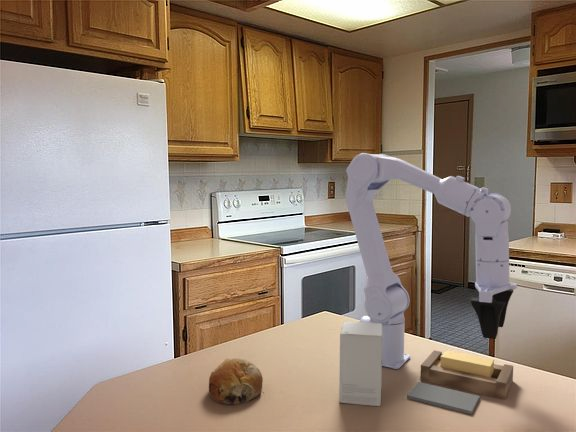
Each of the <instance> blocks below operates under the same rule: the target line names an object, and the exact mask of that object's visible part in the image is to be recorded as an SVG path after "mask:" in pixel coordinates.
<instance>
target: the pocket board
mask: <svg viewBox="0 0 576 432" xmlns="http://www.w3.org/2000/svg"><path fill="white" fill-rule="evenodd" d="M442 354H443V352H442V351H440V350H432V352H431V353H430V354H428V356H427V358H426V359H425V360H424V361H423V362H422V363H421V364H420V376H419V378H420V381H423V382H428V383H432V384H435V385H441V386H445V387H449V388H453V389H459V390H462V391H466V392H471V393H475V394H478V395H484V396H488V397H493V398H497V399H500V400H501V399H502V400H506V399H507V396H508V393H509V391H510V389H511V386H512V385H513V384H512V383H513V380H514V379H513V378H514V365H511V364H506V363H504V364H503V365H500V364H495V363H494V372H493V374H492V376H491V377H486V376H481V375H477V374H472V373H467V372H462V371H458V370H453V369H448V368H443V367H440V365H441V356H442Z"/></svg>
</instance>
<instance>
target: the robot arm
mask: <svg viewBox="0 0 576 432" xmlns="http://www.w3.org/2000/svg"><path fill="white" fill-rule="evenodd" d="M345 172H346V175H347V184H346V191H345V202H346V207H347V209H348V213H349V216H350V220H351V223H352V226H353V227H352V228H353V231H354V235H355V238H356V241H357V245H358V248H359V252H360V256H361V259H362V262H363V265H364V269H365V273H366V277H367V278H366V279H367V280H366V281H365V285H364V288H363V291H364V295H365V301H364V310H365V312H366V313H365V314H367V315H363V316H361V318H360V320H359V322H367V323H382V367H385V368H389V369H394V370H399V369H400V368H401V367H402V366H403V365H404V364H405V363H406V362H407V361H408V360H409V359H410V358H411V355H410V354H409V353H405V324H406V323H405V322H406V321H405V320H406V319H405V311H406V310H407V309H408V308H409V306H410V300H411V299H410V295H409V292H408V291H407V289H405V288H404V286H403V284H402V282H401V279H400V277H399V276H398V274H396V273H395V272H394V271H393V268H392V265H391V262H390V258H389V254H388V251H387V248H386V245H385V241H384V237H383V233H382V231H381V227H380V223H379V220H378V217H377V213H376V210H375V206H374V203H373V201H374V199H375V198H376V196H377V194H378V192H380V190H381V189H382V188H383V187H384V186H385V185H386V184H387V183H389V182H390V181H391V180H399V181H402V182H405V183H407V184H409V185H411V186H414V187H417V188H418V189H422V190H424V191H426V192H429V193H431V194H434V197H435V199H436V201H437V203H438V204H440V205H441V206H443V207H446V208H448V209H450V210H453V211H454V212H457V213H459V214H461V215H462V216H466V217H467V218H469V217H470V218H471V220H472V222H473V223H474V225H475V236H474V241H475V246H474V247H475V248H474V249H475V283H474V287H475V289H476V290H477V291H478V297H472V298H470V304H471V306H472V307H473V310H474V312H475V313H476V314H475V315H476V316H477V319H478V323H479V326H480V330H481V334H482V337H483V338H484V339H490V340H495V339H497V336H498V331H499V328H503V327H504V324H505V320H506V315H507V311H508V310H507V309H508V306H509V302H510V299H511V297H512V295H513V293H514V290H516V289H517V285H518V284H517V283H514V282H513V283H512V282H510V235H509V224H508V223H509V222H508V219H509V218H510V216H511V213H512V205H511V202H510V201H509V199H508V198H506V197H505V196H503V195H502V194H501V193H499V192H494V193H488V192H489V188H487V187H485V186H483V187H481V188H480V187H478V186H476V185H473V184H471V183H469V182H467V181H465V179H466V177H463V176H461V175H456V177H455V176H453V175H450V176H448V177H445V178H443V179H442V178H441V177H439V176H436V175H434V174H432V173H431V172H428V171H426V170H424V169H422V168H420V167H418V166H416V165H414V164H412V163H410V162H408V161H406V160H403V159H401V158H398V157H394V156H390V155H388V154H385V153H378V154H376V153H375V154H373V153H372V154H371V153H365V152H362V153H359V154H356V155H355V156H354V157H353V158H352V160H351V161H350V163H349V165H348V166H347V168H346V170H345Z"/></svg>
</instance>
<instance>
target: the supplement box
mask: <svg viewBox="0 0 576 432" xmlns="http://www.w3.org/2000/svg"><path fill="white" fill-rule="evenodd" d="M382 373H383V366H382V323H367V322H360V321H343V322H342V325H341V329H340V333H339V385H338V386H339V389H338V390H339V391H338V392H339V393H338V394H339V398H338V402H339V403H342V404H353V405H362V406H373V407H374V406H375V407H380V406H381V403H382V402H381V400H382V380H383V379H382V376H383V375H382Z"/></svg>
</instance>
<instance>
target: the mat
mask: <svg viewBox="0 0 576 432" xmlns="http://www.w3.org/2000/svg"><path fill="white" fill-rule="evenodd" d="M406 399H408V400H411V401H416V402H420V403H424V404H428V405H433V406H436V407H440V408H444V409H447V410H451V411H454V412H458V413H459V412H460V413H464V414H467V415H470V416H471V415H473V412H474V411H475V409H476V407H477V405H478V403H479V402H480V395H477V394H473V393H468V392H464V391H460V390H455V389H450V388H446V387H442V386H439V385H434V384H429V383H425V382H421V381H418V382H417V383H416V384H415V385H414V387H412V388H411V390H410V391H409V392H408V394H406Z"/></svg>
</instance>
